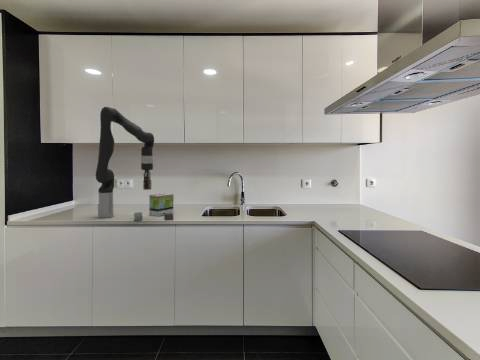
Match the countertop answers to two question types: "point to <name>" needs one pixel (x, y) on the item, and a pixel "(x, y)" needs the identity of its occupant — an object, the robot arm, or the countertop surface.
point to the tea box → (160, 204)
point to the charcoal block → (168, 216)
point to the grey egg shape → (138, 216)
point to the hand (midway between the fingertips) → (147, 188)
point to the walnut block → (149, 185)
